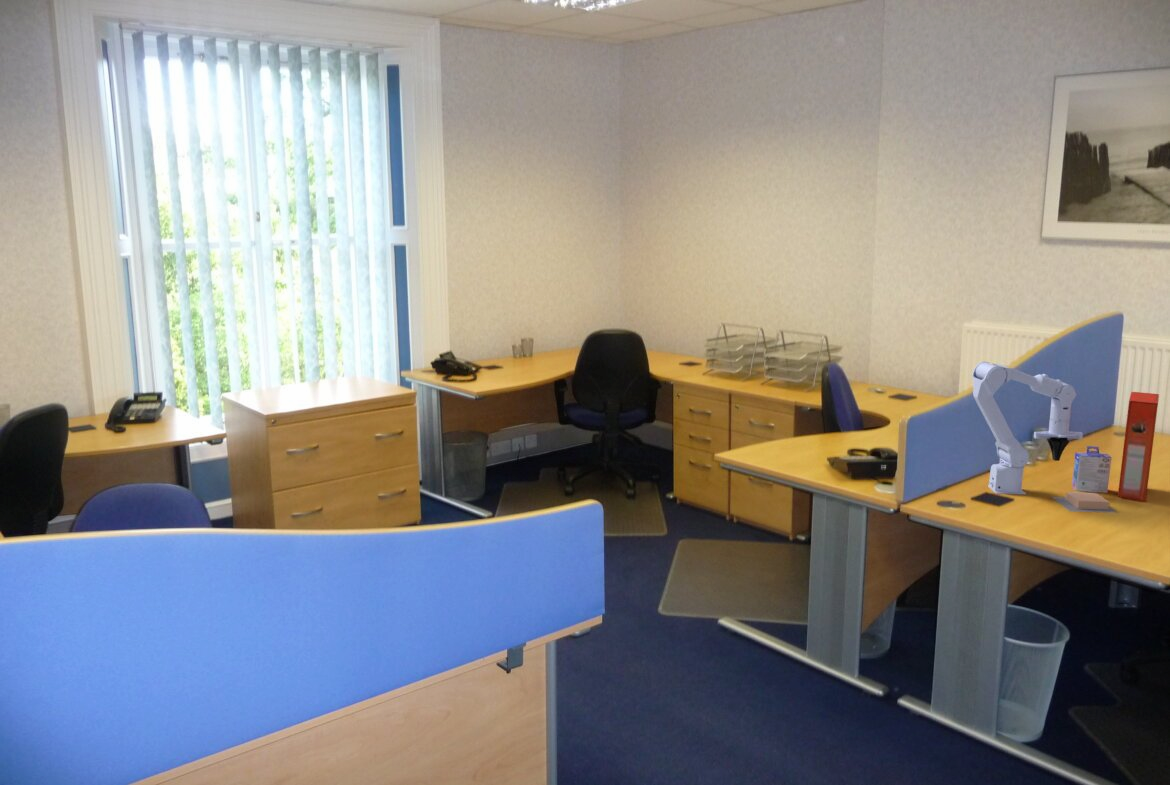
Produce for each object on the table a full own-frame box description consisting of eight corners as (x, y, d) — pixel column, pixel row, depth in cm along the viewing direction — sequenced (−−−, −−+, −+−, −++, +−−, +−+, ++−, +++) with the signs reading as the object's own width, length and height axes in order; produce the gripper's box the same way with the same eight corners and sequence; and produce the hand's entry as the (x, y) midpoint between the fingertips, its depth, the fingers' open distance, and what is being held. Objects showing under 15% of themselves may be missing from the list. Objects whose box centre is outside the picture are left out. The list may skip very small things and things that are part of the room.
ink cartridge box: (1102, 488, 307) (1108, 446, 304) (1108, 493, 302) (1113, 450, 299) (1070, 486, 309) (1075, 444, 306) (1075, 491, 304) (1080, 448, 301)
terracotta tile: (1078, 500, 285) (1109, 501, 284) (1066, 492, 294) (1095, 492, 293) (1077, 508, 285) (1108, 509, 285) (1065, 499, 294) (1094, 500, 293)
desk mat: (1069, 512, 283) (1070, 511, 283) (1051, 497, 297) (1051, 496, 297) (1117, 513, 282) (1117, 512, 282) (1096, 499, 296) (1096, 498, 296)
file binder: (1116, 497, 298) (1129, 400, 291) (1119, 484, 312) (1131, 391, 306) (1145, 502, 293) (1159, 403, 287) (1147, 488, 308) (1160, 394, 301)
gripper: (1041, 422, 296) (1037, 463, 299) (1088, 422, 295) (1084, 463, 298) (1032, 417, 303) (1029, 457, 306) (1078, 417, 302) (1075, 457, 305)
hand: (1055, 460), depth 302 cm, fingers closed
